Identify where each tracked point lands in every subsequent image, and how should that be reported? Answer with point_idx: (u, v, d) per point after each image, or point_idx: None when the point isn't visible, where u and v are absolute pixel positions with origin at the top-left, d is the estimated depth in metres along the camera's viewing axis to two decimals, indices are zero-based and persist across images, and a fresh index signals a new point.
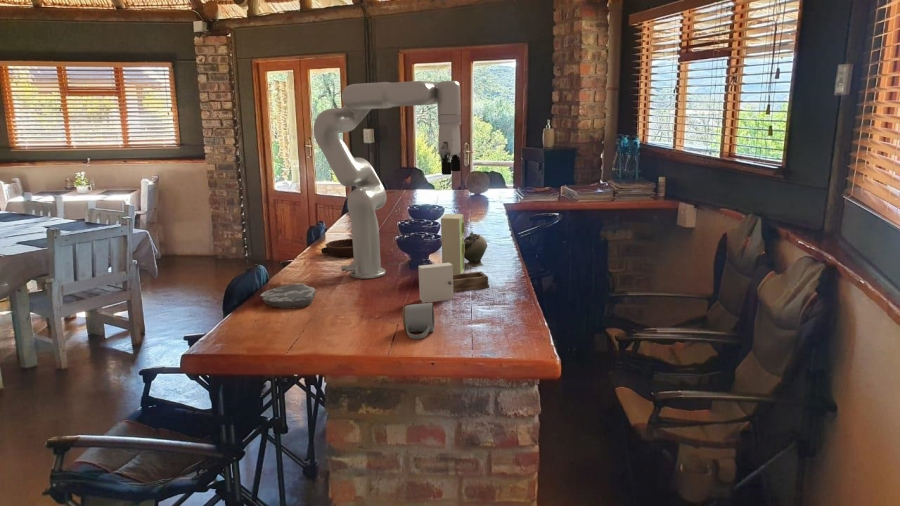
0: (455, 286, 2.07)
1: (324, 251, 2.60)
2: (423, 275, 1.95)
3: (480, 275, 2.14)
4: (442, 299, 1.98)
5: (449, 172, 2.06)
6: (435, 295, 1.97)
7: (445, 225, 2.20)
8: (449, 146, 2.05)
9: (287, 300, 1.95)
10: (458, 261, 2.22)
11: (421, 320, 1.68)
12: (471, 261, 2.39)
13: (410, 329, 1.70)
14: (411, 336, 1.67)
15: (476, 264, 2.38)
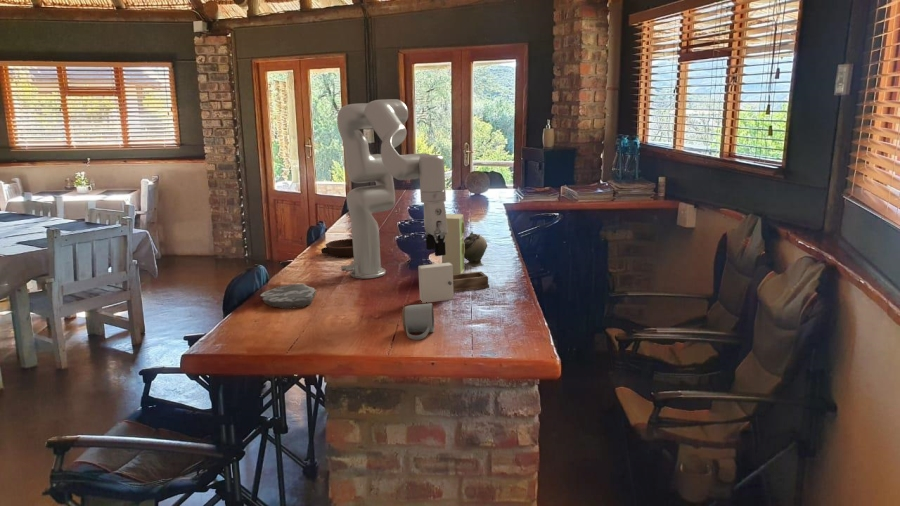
0: (455, 286, 2.07)
1: (324, 251, 2.60)
2: (423, 275, 1.95)
3: (480, 275, 2.14)
4: (442, 299, 1.98)
5: None
6: (435, 295, 1.97)
7: None
8: None
9: (287, 300, 1.95)
10: (458, 261, 2.22)
11: (421, 321, 1.68)
12: (471, 261, 2.39)
13: (410, 330, 1.69)
14: (411, 337, 1.66)
15: (476, 264, 2.38)
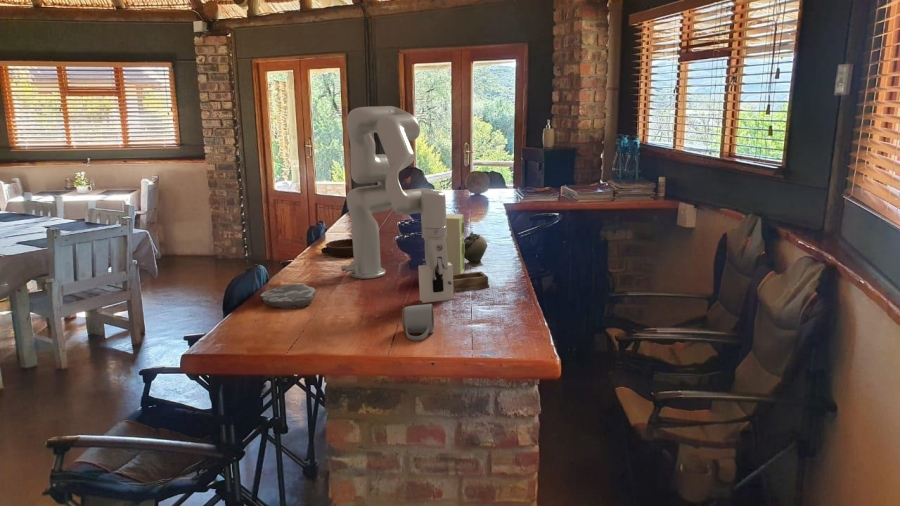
0: (455, 286, 2.07)
1: (324, 251, 2.60)
2: (423, 275, 1.95)
3: (480, 275, 2.14)
4: (442, 299, 1.98)
5: None
6: (435, 295, 1.97)
7: None
8: None
9: (287, 300, 1.95)
10: (458, 261, 2.22)
11: (420, 321, 1.67)
12: (471, 261, 2.39)
13: (409, 330, 1.69)
14: (410, 337, 1.66)
15: (476, 264, 2.38)
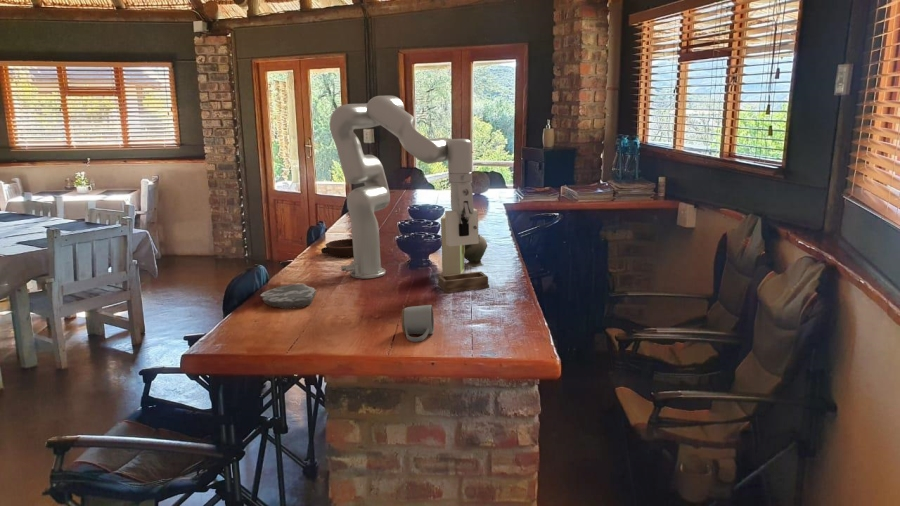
0: (455, 286, 2.07)
1: (324, 251, 2.60)
2: (450, 219, 2.04)
3: (480, 275, 2.14)
4: (468, 243, 2.07)
5: None
6: (461, 239, 2.06)
7: (445, 225, 2.20)
8: None
9: (287, 300, 1.95)
10: (458, 261, 2.22)
11: (420, 322, 1.67)
12: (471, 261, 2.39)
13: (409, 331, 1.68)
14: (410, 339, 1.65)
15: (476, 264, 2.38)
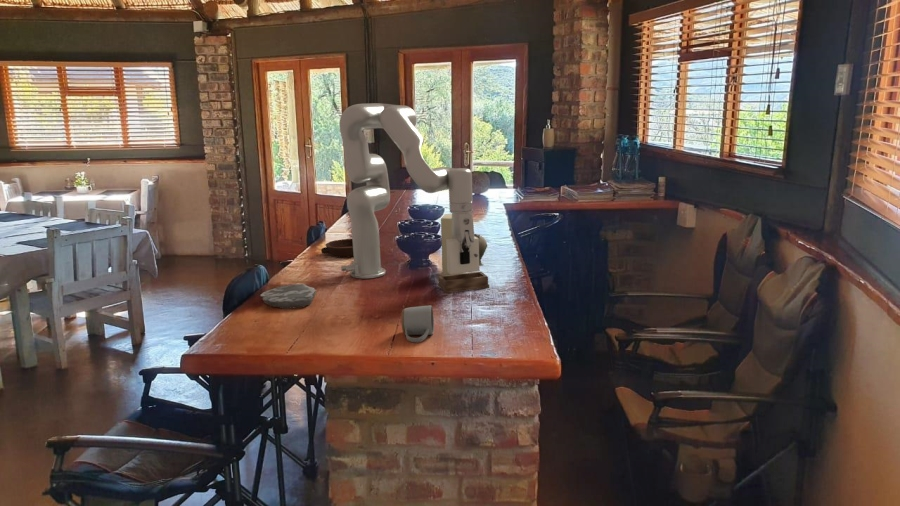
0: (455, 286, 2.07)
1: (324, 251, 2.60)
2: (451, 248, 2.06)
3: (480, 275, 2.14)
4: (469, 271, 2.09)
5: None
6: (462, 267, 2.08)
7: (445, 225, 2.20)
8: None
9: (287, 300, 1.95)
10: None
11: (420, 323, 1.66)
12: None
13: (409, 332, 1.68)
14: (410, 339, 1.65)
15: None
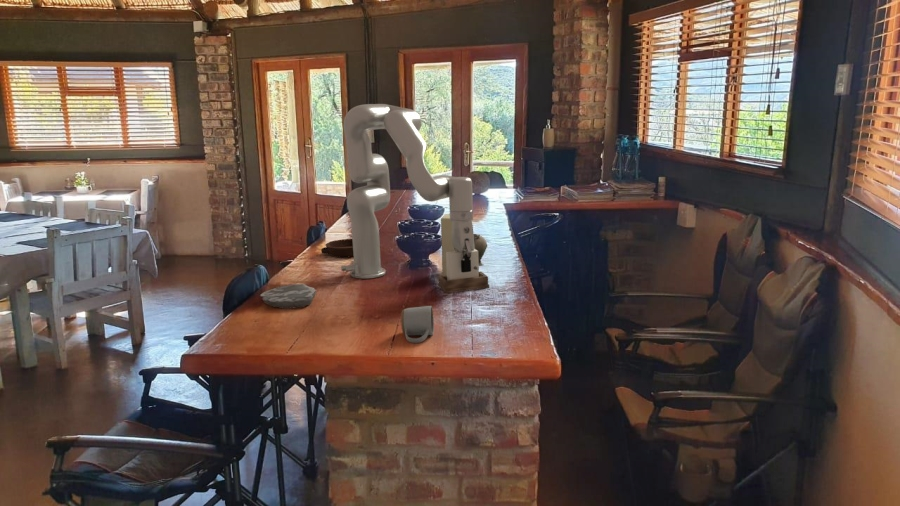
0: (455, 286, 2.07)
1: (324, 251, 2.60)
2: (450, 261, 2.07)
3: (480, 275, 2.14)
4: None
5: None
6: None
7: (445, 225, 2.20)
8: None
9: (287, 300, 1.95)
10: None
11: (420, 323, 1.66)
12: None
13: (409, 333, 1.67)
14: (410, 340, 1.64)
15: None
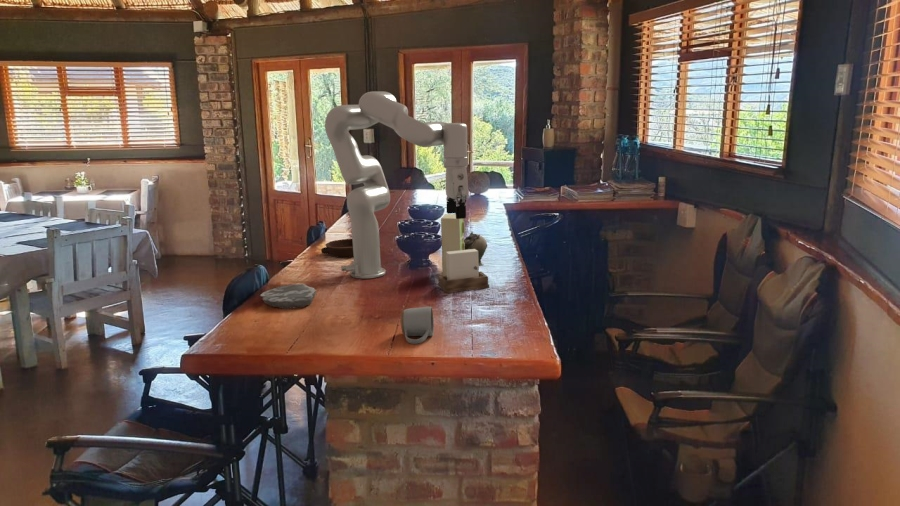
0: (455, 286, 2.07)
1: (324, 251, 2.60)
2: (450, 261, 2.07)
3: (480, 275, 2.14)
4: None
5: None
6: None
7: (445, 225, 2.20)
8: None
9: (287, 300, 1.95)
10: None
11: (420, 324, 1.65)
12: None
13: (409, 333, 1.67)
14: (409, 341, 1.64)
15: None
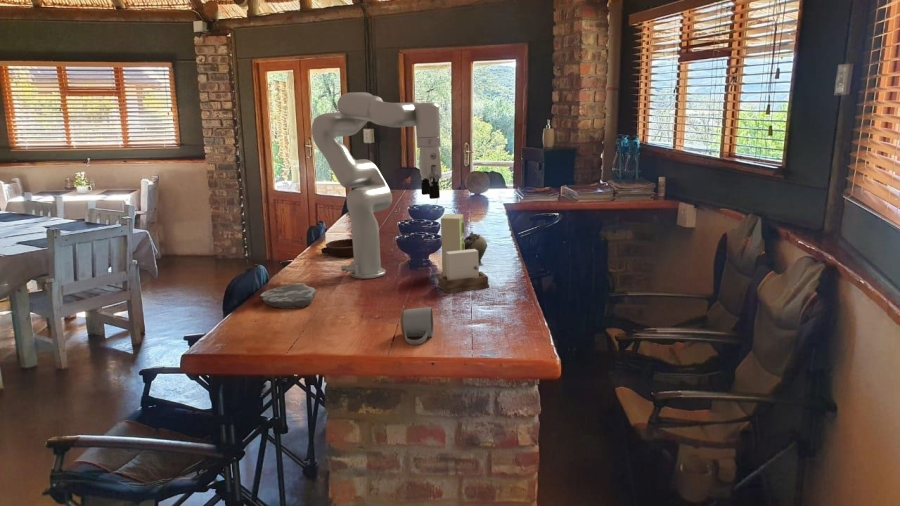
0: (455, 286, 2.07)
1: (324, 251, 2.60)
2: (450, 261, 2.07)
3: (480, 275, 2.14)
4: None
5: None
6: None
7: (445, 225, 2.20)
8: None
9: (287, 300, 1.95)
10: None
11: (419, 325, 1.65)
12: None
13: (408, 334, 1.66)
14: (409, 341, 1.63)
15: None
